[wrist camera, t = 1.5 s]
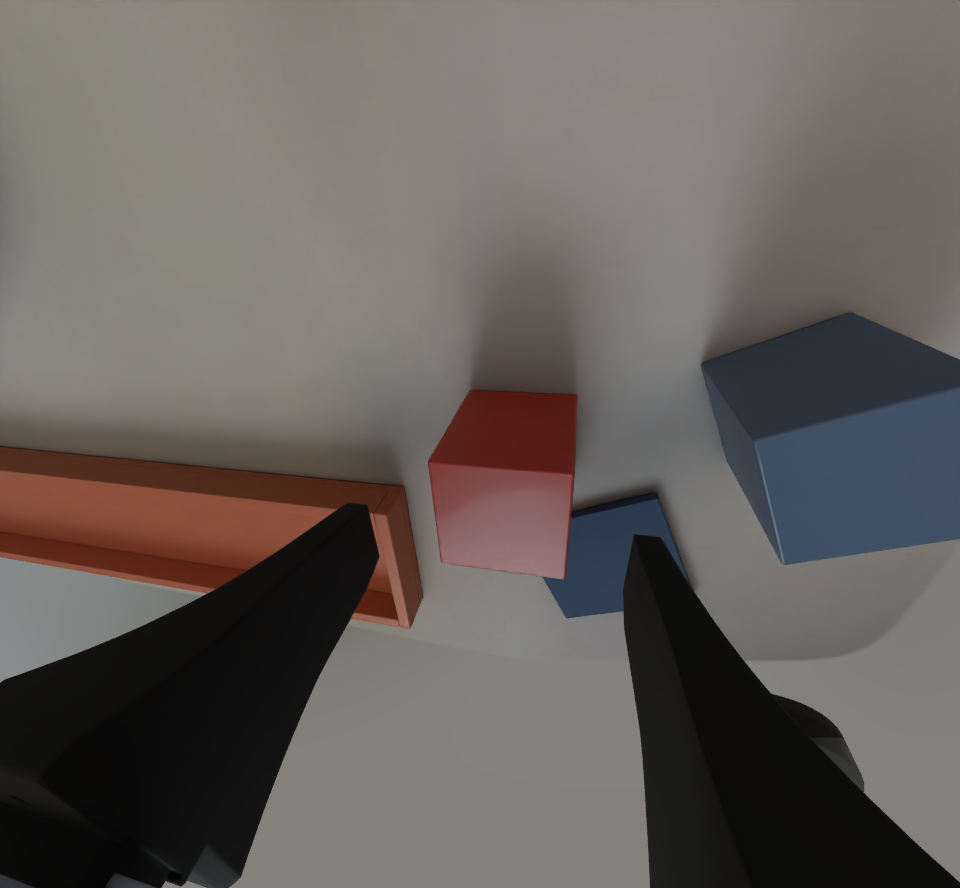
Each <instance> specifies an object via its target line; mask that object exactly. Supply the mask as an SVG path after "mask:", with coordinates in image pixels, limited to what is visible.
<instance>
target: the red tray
mask: <svg viewBox="0 0 960 888" xmlns="http://www.w3.org/2000/svg"><path fill="white" fill-rule="evenodd" d="M347 503H356V504H366V505H368V510H369V514H370V518H371V522H372V526H373V531H374V535H375V539H376V543H377V547H378V551H379V556H380V557H379V560H378V562H377V565H376V568H375V570H374V573H373V575H372V578H371V580H370V583H369V585H368V587H367V590H366V592H365V593H364V595H363V597H362V599H361V601H360V603H359V604H358V606H357V608H356V610H355V612H354V614H353V615H352V617H351V619H356V620H362V621H368V622H374V623H379V624H385V625H391V626H396V627H399V626H400V627H403V628H408V629H410V628H411V626H412V623H413V621H414V618H415V616H416V613H417V611H418V608H419V606H420V604H421V601H422V599H423V595H422V589H421V583H420V578H419V572H418V566H417V560H416V555H415V549H414V543H413V538H412V532H411V526H410V520H409V515H408V509H407V503H406V497H405V492H404V487H398V486H388V485H378V484H368V483H358V482H348V481H338V480H328V479H318V478H308V477H298V476H287V475H277V474H267V473H257V472H247V471H237V470H227V469H217V468H207V467H197V466H187V465H177V464H167V463H157V462H147V461H137V460H127V459H117V458H107V457H97V456H86V455H76V454H66V453H56V452H46V451H36V450H26V449H16V448H6V447H0V557H3V558H9V559H15V560H20V561H26V562H32V563H38V564H43V565H49V566H55V567H60V568H66V569H72V570H77V571H83V572H89V573H94V574H100V575H106V576H111V577H117V578H123V579H129V580H134V581H140V582H146V583H151V584H157V585H163V586H168V587H174V588H180V589H186V590H191V591H197V592H203V593H209V592H211V591H213V590H215V589H217V588H218V587H220V586H222V585H224V584H226V583H227V582H229V581H231V580H232V579H234V578H236V577H237V576H239V575H241V574H242V573H244V572H246V571H247V570H249V569H250V568H252V567H253V566H255V565H257V564H258V563H260V562H261V561H263V560H264V559H266V558H267V557H269V556H271V555H272V554H274V553H275V552H277V551H278V550H280V549H281V548H283V547H284V546H286V545H287V544H289V543H290V542H291V541H293V540H294V539H296V538H297V537H299V536H300V535H302V534H303V533H304V532H306V531H307V530H309V529H310V528H312V527H313V526H314V525H316V524H317V523H319V522H320V521H321V520H323V519H324V518H326V517H327V516H329V515H330V514H331V513H333V512H334V511H336V510H337V509H339V508H340V507H342V506H343V505H345V504H347Z"/></svg>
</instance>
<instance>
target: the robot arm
mask: <svg viewBox="0 0 960 888" xmlns="http://www.w3.org/2000/svg"><path fill="white" fill-rule="evenodd" d="M379 557H380V556H379V551H378V547H377V543H376V539H375V535H374V531H373V526H372V522H371V518H370V514H369V510H368V505H366V504H356V503H347V504H345V505H343V506H342V507H340V508H339V509H337V510H336V511H334V512H333V513H331V514H330V515H329V516H327V517H326V518H324V519H323V520H321V521H320V522H319V523H317V524H316V525H314V526H313V527H312V528H310V529H309V530H307V531H306V532H304V533H303V534H302V535H300V536H299V537H297V538H296V539H294V540H293V541H291V542H290V543H289V544H287V545H286V546H284V547H283V548H281V549H280V550H278V551H277V552H275V553H274V554H272V555H271V556H269V557H267V558H266V559H264V560H263V561H261V562H260V563H258V564H257V565H255V566H253V567H252V568H250V569H249V570H247V571H246V572H244V573H242V574H241V575H239V576H237V577H236V578H234V579H232V580H231V581H229V582H227V583H226V584H224V585H222V586H220V587H218V588H217V589H215V590H213V591H211V592H209V593H208V594H206V595H204V596H202V597H200V598H199V599H197V600H195V601H193V602H191V603H189V604H187V605H185V606H183V607H181V608H179V609H176V610H175V611H172V612H170V613H168V614H166V615H164V616H162V617H160V618H158V619H156V620H154V621H152V622H150V623H148V624H146V625H143V626H141V627H139V628H137V629H134V630H132V631H130V632H128V633H125V634H123V635H121V636H119V637H116V638H114V639H111V640H109V641H106V642H104V643H102V644H99V645H97V646H94V647H92V648H90V649H87V650H84V651H82V652H79V653H77V654H75V655H72V656H69V657H67V658H63V659H61V660H58V661H56V662H53V663H50V664H47V665H44V666H42V667H39V668H36V669H34V670H31V671H28V672H25V673H22V674H20V675H17V676H14V677H11V678H8V679H5V680H3V681H2V682H1V683H0V888H161V887H162V886H163V884H164V883H165V881H167V882H169V883H172V884H175V885H178V886H182V885H183V884H185V882H186V881H190V882H193V883H196V884H199V885H201V886H204V887H207V888H229V887H230V886H232V885H233V884H234V883H235V882H236V881H237V880H238V879H239V878H240V877H241V875H242V872H243V869H244V866H245V863H246V860H247V857H248V854H249V851H250V848H251V846H252V843H253V840H254V837H255V834H256V831H257V829H258V826H259V823H260V820H261V817H262V814H263V811H264V808H265V806H266V803H267V800H268V798H269V795H270V793H271V790H272V787H273V785H274V782H275V780H276V777H277V774H278V772H279V769H280V766H281V764H282V761H283V759H284V756H285V754H286V751H287V749H288V747H289V744H290V742H291V739H292V737H293V734H294V732H295V730H296V727H297V725H298V722H299V720H300V717H301V715H302V713H303V711H304V708H305V706H306V704H307V702H308V699H309V697H310V695H311V692H312V690H313V688H314V686H315V684H316V681H317V679H318V677H319V675H320V673H321V671H322V670H323V667H324V665H325V664H326V662H327V660H328V658H329V656H330V654H331V653H332V651H333V649H334V647H335V646H336V643H337V642H338V640H339V639H340V637H341V635H342V633H343V631H344V630H345V628H346V626H347V624H348V623H349V621H350V619H351V617H352V615H353V614H354V612H355V610H356V608H357V606H358V604H359V603H360V601H361V599H362V597H363V595H364V593H365V592H366V590H367V587H368V585H369V583H370V580H371V578H372V575H373V573H374V570H375V568H376V565H377V562H378V560H379ZM623 609H624V630H625V637H626V643H627V650H628V657H629V663H630V669H631V676H632V682H633V688H634V695H635V701H636V707H637V714H638V720H639V727H640V736H641V745H642V756H643V770H644V785H645V801H646V817H647V835H648V851H649V873H650V888H960V882H959V881H957V880H956V879H955V878H954V877H953V876H952V875H951V874H950V873H949V872H947V871H946V870H945V869H944V868H943V867H942V866H941V865H940V864H939V863H937V862H936V861H935V860H934V859H933V858H932V857H931V856H930V855H928V854H927V853H926V852H925V851H924V850H923V849H922V848H921V847H920V846H918V844H917V843H915V842H914V841H913V840H912V839H911V838H910V837H909V836H908V835H907V834H906V833H905V832H904V831H903V830H902V829H901V828H900V827H898V825H896V824H895V823H894V822H893V821H892V820H891V819H890V818H889V817H888V816H887V815H886V814H885V813H884V812H883V811H882V810H881V809H880V808H879V807H877V805H876V804H874V802H872V801H871V800H870V799H869V798H868V797H867V796H866V794H865V793H864V792H863V791H862V790H861V789H860V788H859V787H858V786H857V785H856V784H855V783H854V782H853V781H852V780H851V779H850V778H849V777H848V776H847V775H846V774H845V773H844V772H843V771H842V770H841V769H840V768H839V767H838V766H837V765H836V764H835V763H834V762H833V761H832V760H831V759H830V758H829V757H828V756H827V754H826V753H825V752H824V751H823V750H822V749H821V748H820V747H819V746H818V745H817V744H816V743H815V742H814V741H813V740H812V739H811V738H810V737H809V736H808V735H807V734H806V733H805V731H804V730H803V729H802V728H801V727H800V726H799V725H798V724H797V723H796V721H795V720H794V719H793V718H792V717H791V716H790V715H789V714H788V713H787V711H786V710H785V709H784V708H783V707H782V706H781V705H780V704H779V702H778V701H777V700H776V699H775V698H774V697H773V695H772V694H771V693H770V692H769V691H768V690H767V688H766V687H765V686H764V685H763V684H762V683H761V681H760V680H759V679H758V678H757V677H756V675H755V674H754V673H753V672H752V671H751V669H750V668H749V667H748V665H747V664H746V663H745V662H744V660H743V659H742V658H741V656H740V655H739V654H738V653H737V651H736V650H735V649H734V647H733V646H732V645H731V643H730V642H729V641H728V639H727V638H726V637H725V635H724V634H723V633H722V631H721V630H720V628H719V627H718V626H717V624H716V623H715V622H714V620H713V619H712V617H711V616H710V614H709V613H708V611H707V610H706V608H705V607H704V605H703V604H702V603H701V601H700V600H699V598H698V597H697V595H696V594H695V592H694V591H693V589H692V588H691V586H690V584H689V583H688V581H687V580H686V578H685V576H684V575H683V573H682V572H681V570H680V568H679V567H678V565H677V563H676V562H675V560H674V558H673V557H672V555H671V553H670V551H669V550H668V548H667V546H666V544H665V542H664V541H663V540H662V539H661V537H656V536H647V535H638V534H634V535H633V541H632V546H631V551H630V556H629V561H628V566H627V571H626V576H625V581H624V586H623Z"/></svg>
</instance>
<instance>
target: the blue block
mask: <svg viewBox="0 0 960 888" xmlns="http://www.w3.org/2000/svg"><path fill="white" fill-rule="evenodd" d="M701 368H702V372H703V375H704V379H705V383H706V386H707V390H708V393H709V397H710V401H711V404H712V408H713V412H714V415H715V419H716V423H717V426H718V430H719V434H720V437H721V441H722V445H723V448H724V452H725V456H726V459H727V462H728V464H729V466H730V468H731V469H732V471H733V473H734V475H735V477H736V479H737V481H738V483H739V484H740V486H741V488H742V490H743V492H744V494H745V496H746V498H747V499H748V501H749V503H750V505H751V507H752V509H753V511H754V513H755V514H756V516H757V518H758V520H759V522H760V524H761V526H762V528H763V529H764V531H765V533H766V535H767V537H768V539H769V541H770V543H771V544H772V546H773V548H774V550H775V552H776V554H777V556H778V558H779V559H780V561H781V563H782V564H783V565H787V564H794V563H801V562H808V561H814V560H821V559H828V558H835V557H841V556H848V555H855V554H862V553H868V552H875V551H882V550H888V549H895V548H902V547H909V546H915V545H922V544H929V543H936V542H942V541H949V540H956V539H960V360H959V359H957V358H955V357H953V356H950V355H948V354H946V353H944V352H941V351H939V350H937V349H934V348H932V347H930V346H928V345H925V344H923V343H921V342H918V341H916V340H914V339H912V338H909V337H907V336H905V335H903V334H900V333H898V332H896V331H893V330H891V329H889V328H887V327H884V326H882V325H880V324H877V323H875V322H873V321H871V320H868V319H866V318H864V317H861V316H859V315H857V314H855V313H848V314H845V315H842V316H840V317H837V318H834V319H831V320H828V321H825V322H822V323H819V324H816V325H813V326H810V327H807V328H804V329H801V330H798V331H795V332H793V333H790V334H787V335H784V336H781V337H778V338H775V339H772V340H769V341H766V342H763V343H760V344H757V345H754V346H751V347H749V348H746V349H743V350H740V351H737V352H734V353H731V354H728V355H725V356H722V357H719V358H716V359H713V360H710V361H707V362H705V363H702V364H701Z"/></svg>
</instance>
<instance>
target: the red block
mask: <svg viewBox="0 0 960 888" xmlns="http://www.w3.org/2000/svg"><path fill="white" fill-rule="evenodd" d="M577 400H578V397H577V395H565V394H543V393H521V392H499V391H477V390H470V391H469V393H468V394H467V396H466V398H465V399H464V401H463V403H462V404H461V406H460V408H459V410H458V411H457V413H456V415H455V416H454V418H453V420H452V421H451V423H450V425H449V426H448V428H447V430H446V432H445V433H444V435H443V437H442V438H441V440H440V442H439V443H438V445H437V447H436V448H435V450H434V452H433V453H432V455H431V457H430V459H429V460H428V465H429V473H430V481H431V488H432V496H433V503H434V511H435V519H436V526H437V534H438V541H439V549H440V557H441V562H442V563H447V564H454V565H462V566H469V567H476V568H484V569H491V570H498V571H505V572H513V573H520V574H527V575H534V576H542V577H549V578H556V579H565V578H566V567H567V556H568V544H569V533H570V522H571V510H572V499H573V488H574V476H575V453H576V427H577Z"/></svg>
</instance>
